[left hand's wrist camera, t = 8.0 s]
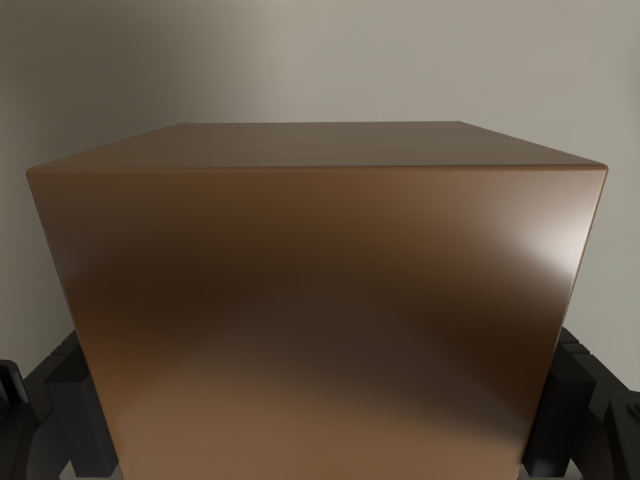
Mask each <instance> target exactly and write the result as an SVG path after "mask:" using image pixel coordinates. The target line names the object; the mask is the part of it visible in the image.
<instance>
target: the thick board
mask: <svg viewBox="0 0 640 480" xmlns="http://www.w3.org/2000/svg"><path fill="white" fill-rule="evenodd" d="M607 173H608V166H607V165H605V164H603V163H599V162H596V161H593V160H589V159H586V158H582V157H579V156H576V155H572V154H569V153H565V152H562V151H559V150H555V149H552V148H548V147H545V146H542V145H538V144H535V143H532V142H528V141H525V140H521V139H518V138H515V137H511V136H508V135H504V134H501V133H498V132H494V131H491V130H487V129H484V128H481V127H477V126H474V125H470V124H467V123H464V122H460V121H423V122H306V123H189V124H177V125H173V126H170V127H167V128H163V129H160V130H157V131H153V132H150V133H147V134H143V135H140V136H136V137H133V138H130V139H126V140H123V141H120V142H116V143H113V144H109V145H106V146H103V147H99V148H96V149H93V150H89V151H86V152H82V153H79V154H76V155H72V156H69V157H66V158H62V159H59V160H56V161H52V162H49V163H45V164H42V165H39V166H35V167H32V168H30V169H28V170H27V171H26V176H27V179H28V182H29V185H30V189H31V192H32V195H33V198H34V201H35V204H36V207H37V210H38V214H39V217H40V220H41V223H42V226H43V229H44V232H45V235H46V238H47V242H48V245H49V248H50V251H51V254H52V257H53V260H54V263H55V266H56V270H57V273H58V276H59V279H60V282H61V285H62V288H63V291H64V295H65V298H66V301H67V304H68V307H69V310H70V313H71V316H72V319H73V323H74V326H75V329H76V332H77V335H78V338H79V341H80V344H81V348H82V351H83V354H84V357H85V360H86V363H87V366H88V369H89V372H90V374H91V378H92V381H93V384H94V387H95V390H96V394H97V397H98V400H99V403H100V406H101V410H102V413H103V416H104V419H105V422H106V425H107V429H108V432H109V435H110V438H111V441H112V444H113V447H114V450H115V453H116V457H117V460H118V463H119V466H120V469H121V472H122V475H123V478H124V480H517V478H518V474H519V471H520V467H521V464H522V461H523V457H524V454H525V451H526V447H527V444H528V440H529V437H530V434H531V430H532V427H533V423H534V420H535V417H536V413H537V410H538V407H539V403H540V400H541V396H542V393H543V390H544V386H545V383H546V379H547V376H548V373H549V369H550V366H551V363H552V359H553V356H554V352H555V349H556V346H557V342H558V339H559V335H560V332H561V329H562V325H563V322H564V319H565V315H566V312H567V308H568V305H569V302H570V298H571V295H572V291H573V288H574V285H575V281H576V278H577V275H578V271H579V268H580V264H581V261H582V258H583V254H584V251H585V247H586V244H587V241H588V237H589V234H590V231H591V227H592V224H593V220H594V217H595V214H596V210H597V207H598V204H599V200H600V197H601V193H602V190H603V187H604V183H605V180H606V176H607Z"/></svg>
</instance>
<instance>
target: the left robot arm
mask: <svg viewBox="0 0 640 480" xmlns="http://www.w3.org/2000/svg"><path fill="white" fill-rule="evenodd" d="M570 458H571V459H572V460H573V462H574V463H575V465H576V466H577V468H578V469H579V471H580V472H581V474H582V476H581V478H580V480H640V392H636V391H631V390H629V389H628V388H627V387H626V386H625V385H624V384H623V383H622V382H621V381H620V380H619V379H618V378H616V377H615V376H614V375H613V374H612V373H611V372H610V371H609V370H608V369H607V368H606V367H605V366H604V365H603V364H602V363H601V362H600V361H599V360H598V359H597V358H596V357H595V356H594V355H591V354H590V351H589V350H588V349H587V348H585V347H584V346H583V345H582V344H579V341H578V340H577V339H576V338H575V337H574V336H573V335H572V334H571V333H570V332H569V331H568V330H567V329H566V328H564V327H562V329H561V332H560V335H559V339H558V342H557V346H556V349H555V352H554V356H553V359H552V363H551V366H550V369H549V373H548V376H547V379H546V383H545V386H544V390H543V393H542V396H541V400H540V403H539V407H538V410H537V413H536V417H535V420H534V423H533V427H532V430H531V434H530V437H529V440H528V444H527V447H526V451H525V454H524V457H523V461H522V463H523V465H524V467H525V469H526V471H527V473H528V475H529V476H530V477H564V475H565V472H566V470H567V467H568V464H569V461H570ZM69 460H71V463H72V466H73V468H74V471H75V474H76V477H111V475H112V473H113V471H114V470H115V468H116V466H117V464H118V460H117V457H116V453H115V450H114V447H113V444H112V441H111V438H110V435H109V432H108V429H107V425H106V422H105V419H104V416H103V413H102V410H101V406H100V403H99V400H98V397H97V394H96V390H95V387H94V384H93V381H92V378H91V374H90V372H89V369H88V366H87V363H86V360H85V357H84V354H83V351H82V348H81V344H80V341H79V338H78V335H77V332H76V330H74V331H73V332H72V333H71V334H70V335H69V336H68V337H67V338H66V339H65V340H64V341H63V342H62V344H61V345H59V346H58V347H57V348H56V349H55V350H54V351H53V352H52V353H51V356H47V357H46V358H45V359H44V360H43V361H42V362H41V363H40V364H39V365H38V366H37V367H36V368H35V369H34V370H33V371H32V372H31V373H30V374H29V375H28V376H27V377H26V378H25V379H24V380H23V379H22V377H21V374H20V371H19V369H18V366H17V364H16V363H14V362H12V361H11V360H0V480H60V478H59V475H60V473H61V472H62V470H63V469H64V467H65V466H66V464H67V463H68V462H69Z"/></svg>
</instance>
